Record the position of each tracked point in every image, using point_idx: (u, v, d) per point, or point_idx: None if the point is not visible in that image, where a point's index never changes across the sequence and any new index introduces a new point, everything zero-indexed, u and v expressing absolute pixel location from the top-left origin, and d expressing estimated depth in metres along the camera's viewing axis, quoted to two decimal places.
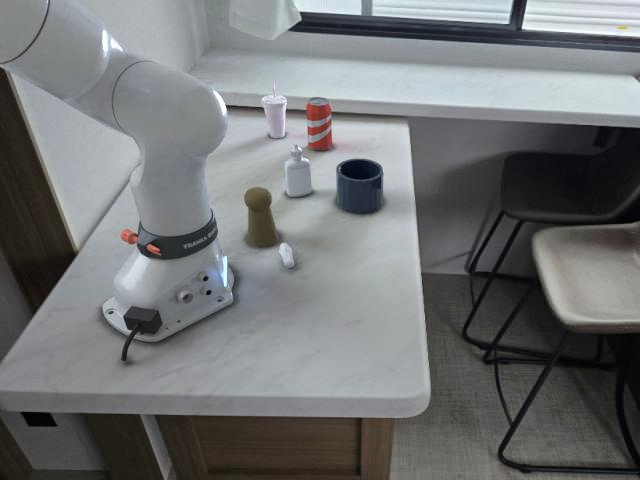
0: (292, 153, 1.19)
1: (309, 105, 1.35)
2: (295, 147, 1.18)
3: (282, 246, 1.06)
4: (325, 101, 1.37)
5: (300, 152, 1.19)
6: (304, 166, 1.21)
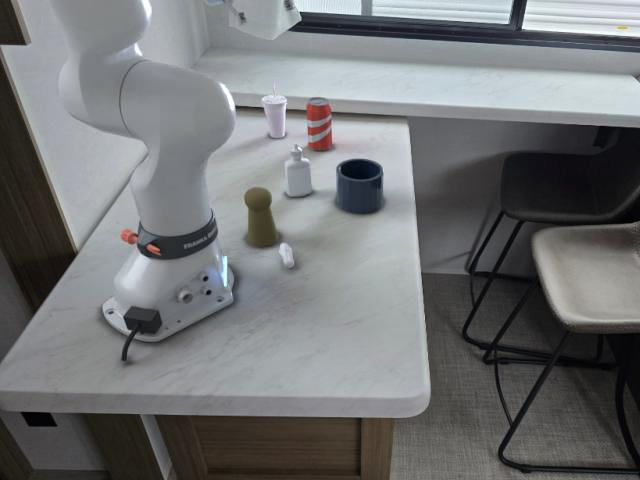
0: (292, 153, 1.19)
1: (309, 105, 1.35)
2: (295, 147, 1.18)
3: (282, 246, 1.06)
4: (325, 101, 1.37)
5: (300, 152, 1.19)
6: (304, 166, 1.21)
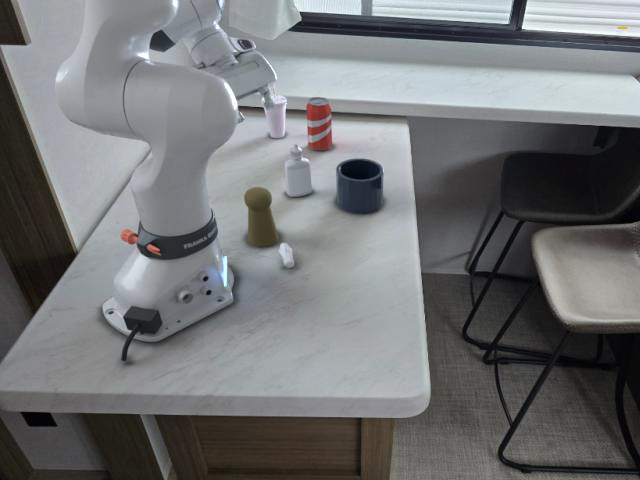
0: (292, 153, 1.19)
1: (309, 105, 1.35)
2: (295, 147, 1.18)
3: (282, 246, 1.06)
4: (325, 101, 1.37)
5: (300, 152, 1.19)
6: (304, 166, 1.21)
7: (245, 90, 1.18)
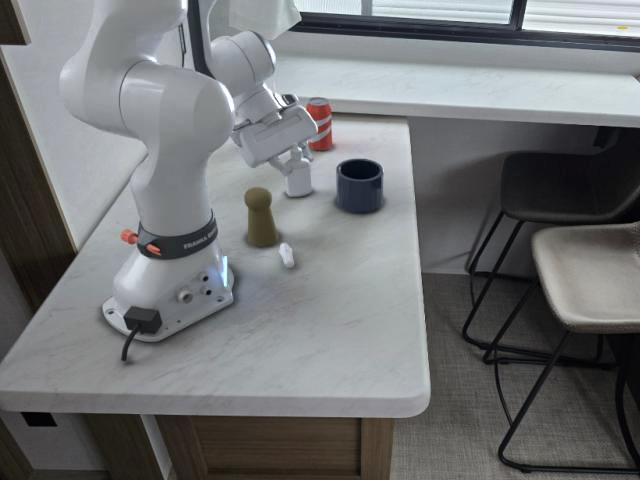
0: (292, 153, 1.19)
1: (309, 105, 1.35)
2: (295, 147, 1.18)
3: (282, 246, 1.06)
4: (325, 101, 1.37)
5: (300, 152, 1.19)
6: (303, 166, 1.21)
7: (289, 145, 1.19)
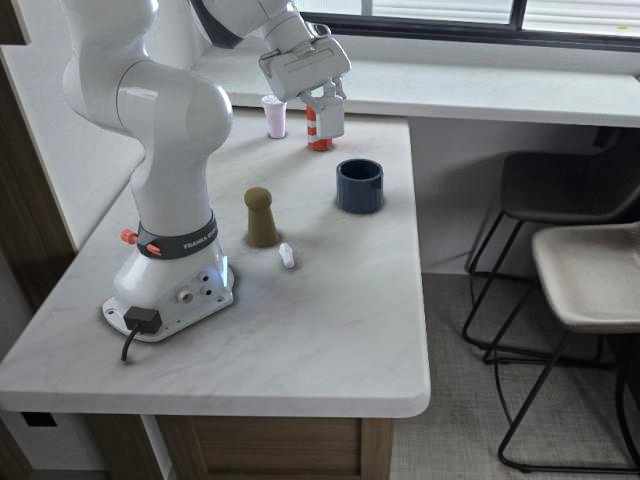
0: (325, 88, 1.08)
1: None
2: (328, 81, 1.08)
3: (282, 246, 1.06)
4: None
5: (334, 87, 1.08)
6: (337, 103, 1.10)
7: (322, 79, 1.09)
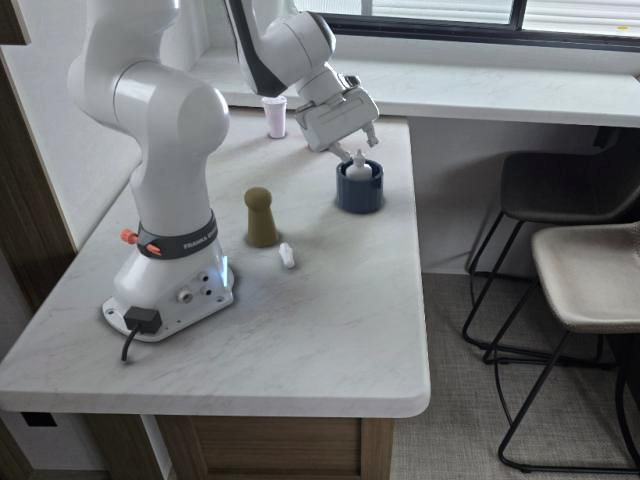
0: (355, 159, 1.17)
1: None
2: (358, 153, 1.17)
3: (282, 246, 1.06)
4: None
5: (363, 158, 1.17)
6: (365, 173, 1.19)
7: (353, 128, 1.14)
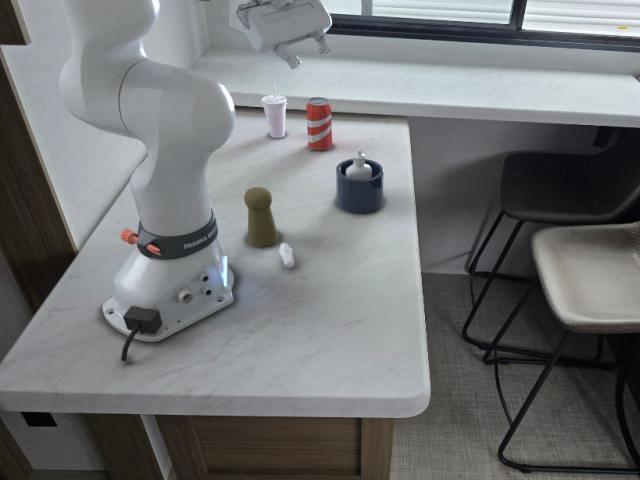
0: (355, 159, 1.17)
1: (309, 105, 1.35)
2: (358, 153, 1.17)
3: (282, 246, 1.06)
4: (325, 101, 1.37)
5: (363, 158, 1.17)
6: (365, 173, 1.19)
7: (301, 32, 1.08)
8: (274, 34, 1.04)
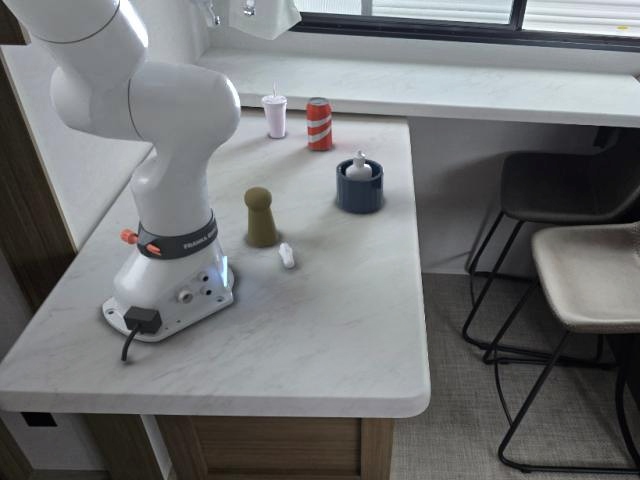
0: (355, 159, 1.17)
1: (309, 105, 1.35)
2: (358, 153, 1.17)
3: (282, 246, 1.06)
4: (325, 101, 1.37)
5: (363, 158, 1.17)
6: (365, 173, 1.19)
7: None
8: None
